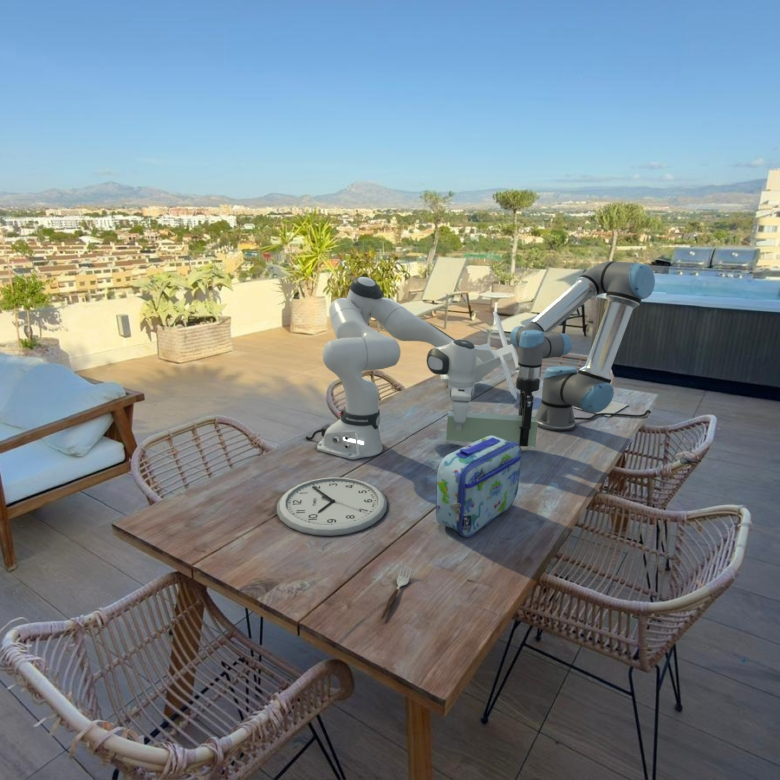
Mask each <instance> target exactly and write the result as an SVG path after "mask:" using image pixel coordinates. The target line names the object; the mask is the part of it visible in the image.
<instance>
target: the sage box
mask: <svg viewBox="0 0 780 780" xmlns="http://www.w3.org/2000/svg"><path fill="white" fill-rule="evenodd" d="M521 426H522V416H518V414H517V415H515V414H514V415H513V414H500V413H499V414H498V413H485V412H484V413H483V412H468V411H467V417H466V421H465V423H464V424H462V427H461V431H457V430H456V423H454V417H453V410H452V411H451V410H447V419H446V434H445V435H446V437H445V440H446V441H448V442H449V441H451V442H463V443H464V442H465V443H474V442H476V441H478V440H480V439H482V438H485V437H487V436H496V437H498V438H501V439H504V440H506V441H509V442H517V443H518V444H519V442H520V431H521V429H519V427H521ZM538 427H539V426H538V421H537V418H536V417H535V416H532V417H531V429H529V437H528V447H536V442H537V435H538Z"/></svg>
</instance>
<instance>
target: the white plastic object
mask: <svg viewBox="0 0 780 780" xmlns="http://www.w3.org/2000/svg"><path fill="white" fill-rule="evenodd" d="M492 315H493V319H494V321H495V324H496V325H495V326H496V328H497V332H498V335H499V338H500V342H501V345H502V347H500V348H498V349H496V350H495V349H493V348H492V347H491V346H490V344H489V343H488V342H487V343H483V344H479V345H474V346H475V349H476V369H475V372H474V378H475V384H477V383H480V382H482V381H484V378H485V377H486V376H487V375H489V374H490V373H492V372H494V371H495V370H496V369H497V368H499V367H500V366H502V370H503V373H504V376H505V380H506V383H507V386H508V390H509V393H510V394H511V395H512V397H513V398H514V399H515V400H517V392H516V391H517V390H516V387H515V385H514V381H513V378H512V375H511V371H510V369H509V365H508V361H510V360H513V363H514V366H515V368H516V367H518V357H519V354H518V352H517V349H516V347H515V346H514V345H513V344H512V343H510V344H508V341H507V337H506V334H505V331H504V328H503V325H502V321H501V318H500V315H499V314H498V312H497V311H496V310H495V311H492ZM454 339H455V340H459V339H458V338H454ZM460 339H461V340H464V339H463V338H460ZM517 371H518V370H516V372H517ZM439 376H440V381H442V383H443V384H444V385H445V386H448V378H449V377H448V375H439Z"/></svg>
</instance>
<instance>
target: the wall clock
mask: <svg viewBox="0 0 780 780" xmlns="http://www.w3.org/2000/svg"><path fill="white" fill-rule="evenodd" d="M387 509H388V500H387V498H386V496H385V494H384V493H383V492H382V491H381V490H380V489H379V488H377V487H376V486H374V485H372V484H371V483H369V482H365V481H362V480H359V479H355V478H349V477H338V476H337V477H335V476H333V477H332V476H331V477H322V478H317V479H312V480H307V481H305V482H302V483H299V484H297V485H295V486H293V487H292V488H290V489H288V490H287V491H286V492H285V493H284V494H283V495H281V496H280V498H279V499H278V502H277V503H276V515H277V517H278V518H279V520H280V521H281V522H282V523H283V524H285V525H286V526H287V527H288V528H290V529H293V530H295V531H297V532H299V533H303V534H308V535H312V536H327V537H328V536H329V537H331V536H332V537H333V536H342V535H350V534H352V533H356V532H361V531H363V530H366V529H368V528H369V527H372V526H373V525H375V524H376V523H378V522H379V521H380V520H381V519H382V518H383V517H384V516H385V514H386V512H387Z"/></svg>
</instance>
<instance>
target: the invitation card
mask: <svg viewBox="0 0 780 780" xmlns="http://www.w3.org/2000/svg"><path fill="white" fill-rule="evenodd" d="M628 406H629V404H627V403H623V402H618V401H614V400H612V401H611V402H610V404H609V405H608V406H607V407H606V408H605V409H603V410H602V411H601V412H598V413H615V414H617V413H618V412H619V411H621V410H623V409H624V408H626V407H628ZM573 409H575V410H581V411H583V410H582V409H580V408H577V407H575V406H573ZM587 413H590V412H589V411H587ZM598 413H595V414H598ZM603 416H604V417H608V418H609V417H611V416H612V415H603Z"/></svg>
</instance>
